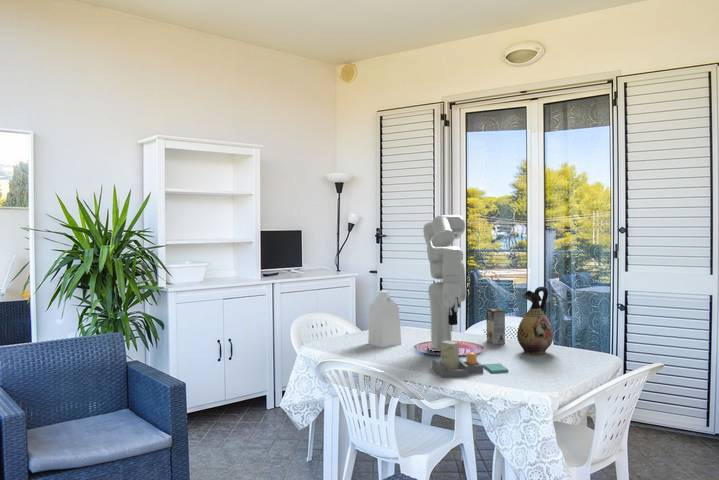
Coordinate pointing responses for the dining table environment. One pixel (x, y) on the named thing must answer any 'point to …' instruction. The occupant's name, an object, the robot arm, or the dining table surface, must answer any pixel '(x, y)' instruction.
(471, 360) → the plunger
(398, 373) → the dining table surface
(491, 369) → the mat
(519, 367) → the dining table surface
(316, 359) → the dining table surface
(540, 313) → the ceramic jug
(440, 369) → the socket block
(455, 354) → the skincare box
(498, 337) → the coffee box
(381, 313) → the milk
